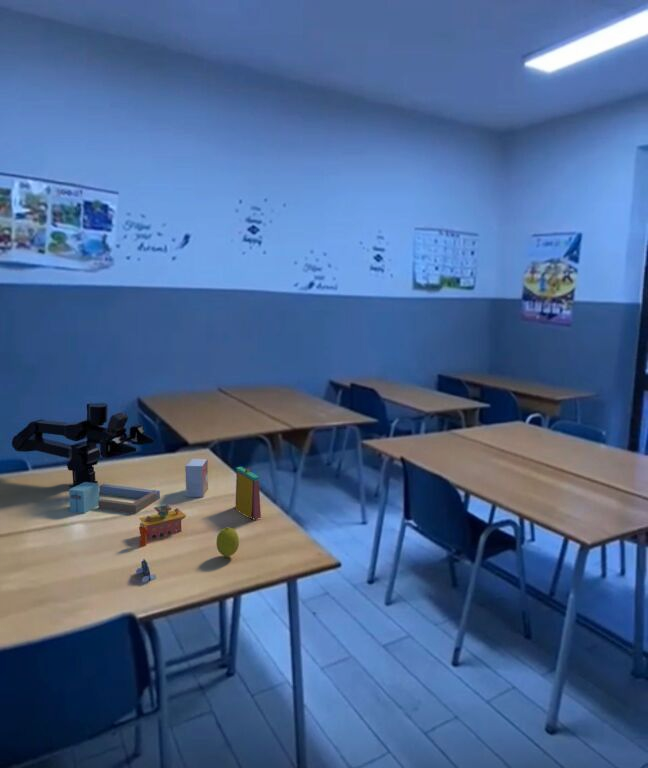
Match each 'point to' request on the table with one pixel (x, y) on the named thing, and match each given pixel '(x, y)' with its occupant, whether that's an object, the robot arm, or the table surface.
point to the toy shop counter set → (172, 520)
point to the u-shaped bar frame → (144, 495)
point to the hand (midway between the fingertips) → (145, 445)
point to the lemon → (227, 541)
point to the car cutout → (145, 572)
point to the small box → (196, 477)
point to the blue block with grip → (84, 497)
